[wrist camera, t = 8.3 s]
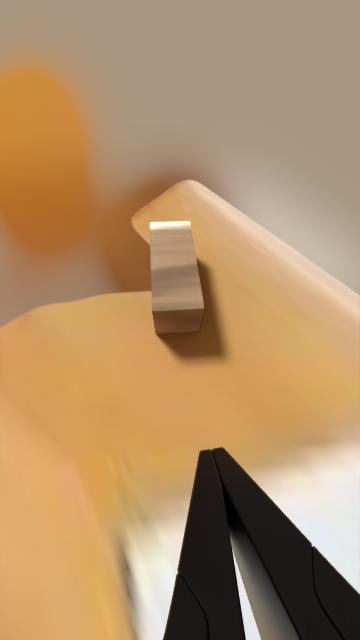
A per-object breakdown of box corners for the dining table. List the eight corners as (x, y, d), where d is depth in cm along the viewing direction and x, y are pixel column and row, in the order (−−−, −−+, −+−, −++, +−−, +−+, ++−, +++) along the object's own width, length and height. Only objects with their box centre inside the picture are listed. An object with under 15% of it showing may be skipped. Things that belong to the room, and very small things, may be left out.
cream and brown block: (204, 308, 21) (189, 221, 27) (152, 311, 20) (149, 222, 27) (198, 331, 25) (187, 251, 31) (155, 334, 25) (152, 252, 31)
